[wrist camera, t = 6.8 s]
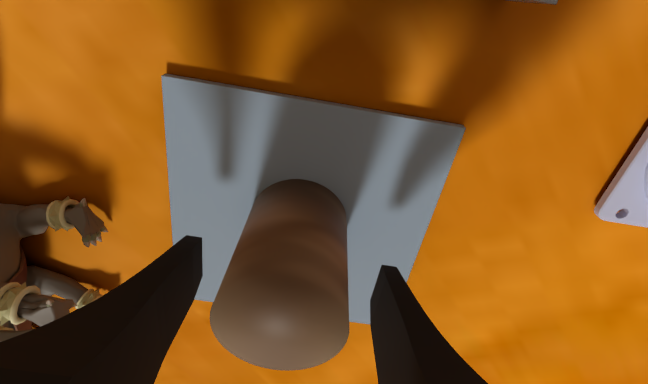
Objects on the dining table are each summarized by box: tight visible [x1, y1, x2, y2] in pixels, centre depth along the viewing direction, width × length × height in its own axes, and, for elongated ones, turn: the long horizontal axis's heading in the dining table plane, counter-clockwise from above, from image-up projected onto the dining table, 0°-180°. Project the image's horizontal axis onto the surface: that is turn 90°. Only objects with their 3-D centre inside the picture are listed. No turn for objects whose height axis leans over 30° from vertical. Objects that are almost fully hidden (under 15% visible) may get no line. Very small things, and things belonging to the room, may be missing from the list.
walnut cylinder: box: [210, 179, 349, 370], centre depth 14 cm, size 4×4×6 cm
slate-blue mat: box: [162, 74, 466, 324], centre depth 17 cm, size 12×12×1 cm
